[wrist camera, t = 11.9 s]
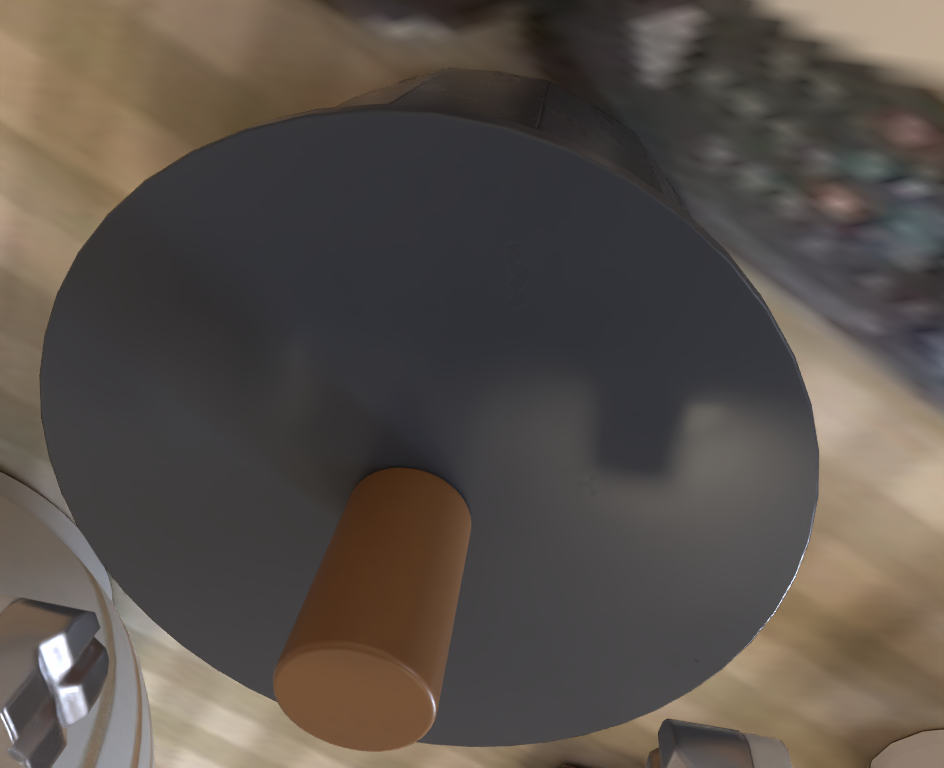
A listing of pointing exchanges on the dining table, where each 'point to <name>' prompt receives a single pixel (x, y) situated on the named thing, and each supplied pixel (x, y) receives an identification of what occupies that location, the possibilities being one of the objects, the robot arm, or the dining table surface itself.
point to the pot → (528, 114)
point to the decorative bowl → (88, 588)
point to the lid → (429, 427)
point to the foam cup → (913, 752)
